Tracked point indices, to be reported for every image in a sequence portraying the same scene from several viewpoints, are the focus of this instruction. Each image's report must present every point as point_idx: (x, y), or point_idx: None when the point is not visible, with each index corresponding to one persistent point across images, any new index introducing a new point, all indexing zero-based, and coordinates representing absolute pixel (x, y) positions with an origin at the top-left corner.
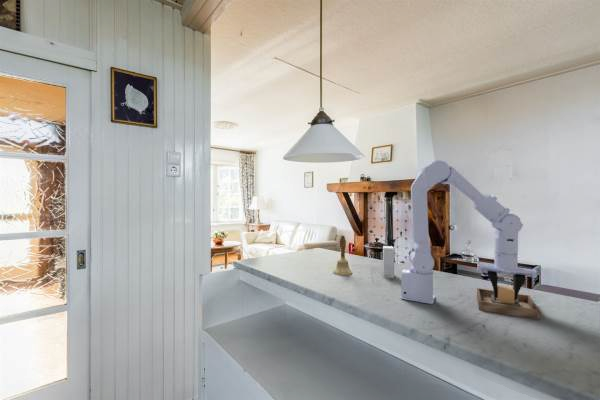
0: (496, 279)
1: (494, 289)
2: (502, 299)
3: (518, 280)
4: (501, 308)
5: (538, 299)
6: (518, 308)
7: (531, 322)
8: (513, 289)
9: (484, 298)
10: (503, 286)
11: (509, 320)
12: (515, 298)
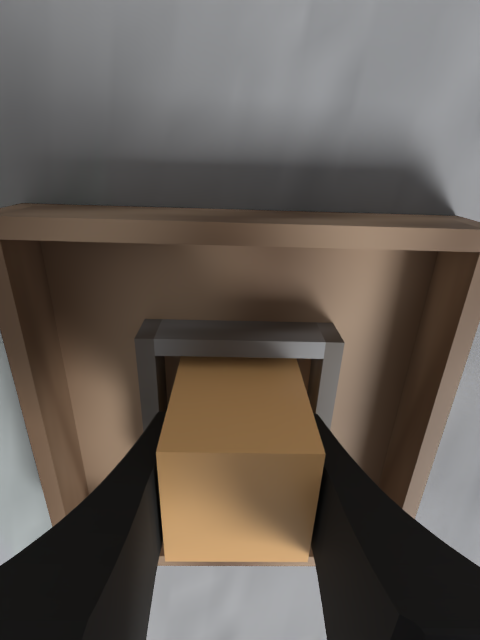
0: (388, 571)
1: (348, 459)
2: (266, 382)
3: (56, 598)
4: (298, 216)
5: None
6: (157, 216)
7: (81, 93)
8: (162, 499)
9: None
10: (247, 552)
11: (255, 37)
12: (160, 419)
